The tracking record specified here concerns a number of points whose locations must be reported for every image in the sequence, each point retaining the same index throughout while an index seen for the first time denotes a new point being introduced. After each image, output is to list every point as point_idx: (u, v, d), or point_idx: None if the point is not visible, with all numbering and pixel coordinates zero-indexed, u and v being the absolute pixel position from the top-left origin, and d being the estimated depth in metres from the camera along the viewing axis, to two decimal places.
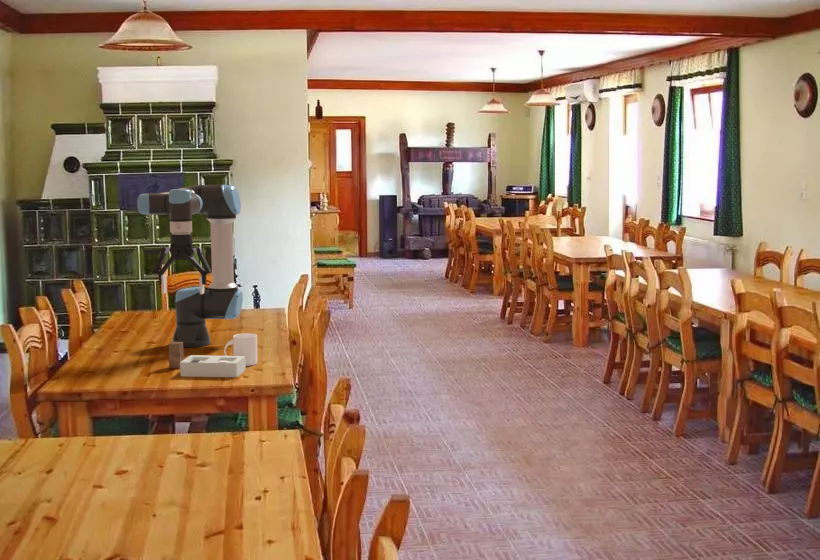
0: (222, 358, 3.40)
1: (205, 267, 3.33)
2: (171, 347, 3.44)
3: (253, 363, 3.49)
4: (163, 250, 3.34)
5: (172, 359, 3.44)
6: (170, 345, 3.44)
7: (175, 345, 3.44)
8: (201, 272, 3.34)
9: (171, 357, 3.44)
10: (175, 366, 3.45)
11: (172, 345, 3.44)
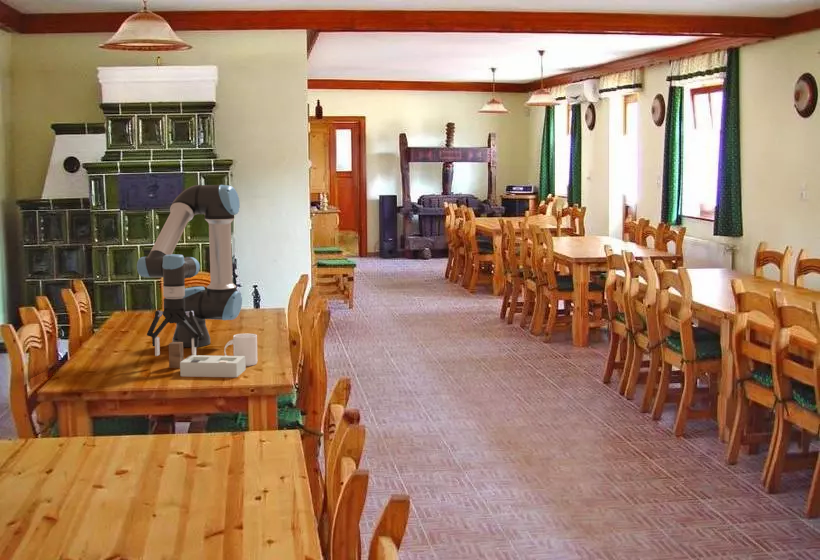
0: (222, 358, 3.40)
1: (197, 330, 3.43)
2: (171, 347, 3.44)
3: (253, 363, 3.49)
4: (156, 314, 3.43)
5: (172, 359, 3.44)
6: (170, 345, 3.44)
7: (175, 345, 3.44)
8: (193, 335, 3.43)
9: (171, 357, 3.44)
10: (175, 366, 3.45)
11: (172, 345, 3.44)
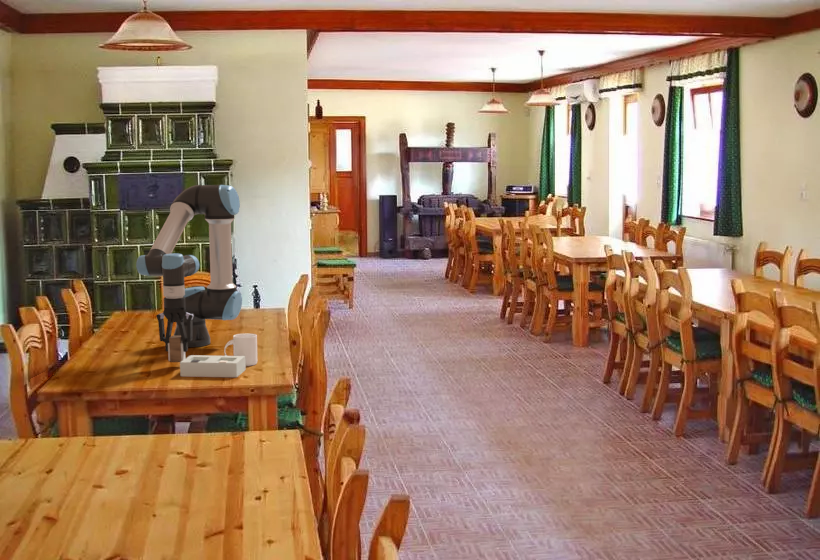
0: (222, 358, 3.40)
1: (188, 335, 3.44)
2: (172, 341, 3.44)
3: (253, 363, 3.49)
4: (158, 317, 3.44)
5: (172, 353, 3.45)
6: (170, 339, 3.44)
7: (175, 339, 3.44)
8: (183, 339, 3.44)
9: (172, 350, 3.45)
10: (176, 360, 3.45)
11: (172, 339, 3.44)
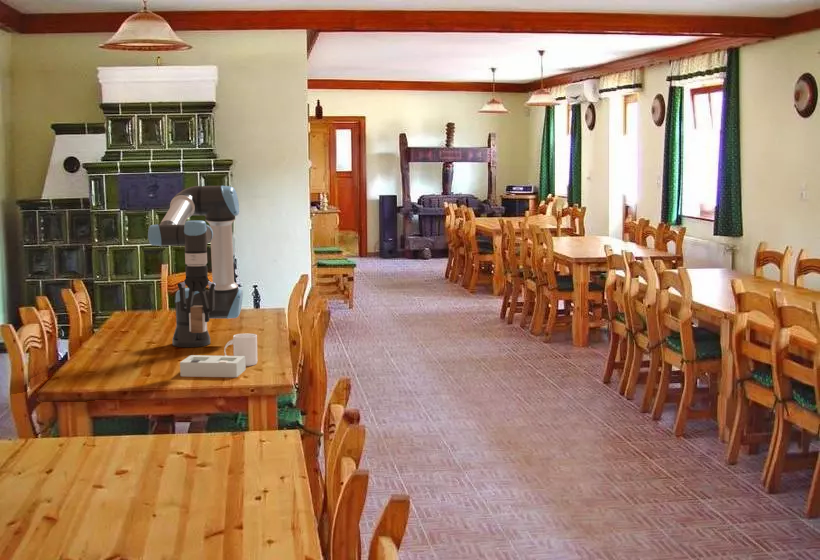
0: (222, 358, 3.40)
1: (210, 304, 3.33)
2: (193, 310, 3.33)
3: (253, 363, 3.49)
4: (179, 286, 3.33)
5: (193, 323, 3.34)
6: (192, 308, 3.33)
7: (197, 308, 3.33)
8: (205, 309, 3.33)
9: (193, 320, 3.34)
10: (197, 330, 3.34)
11: (194, 308, 3.33)
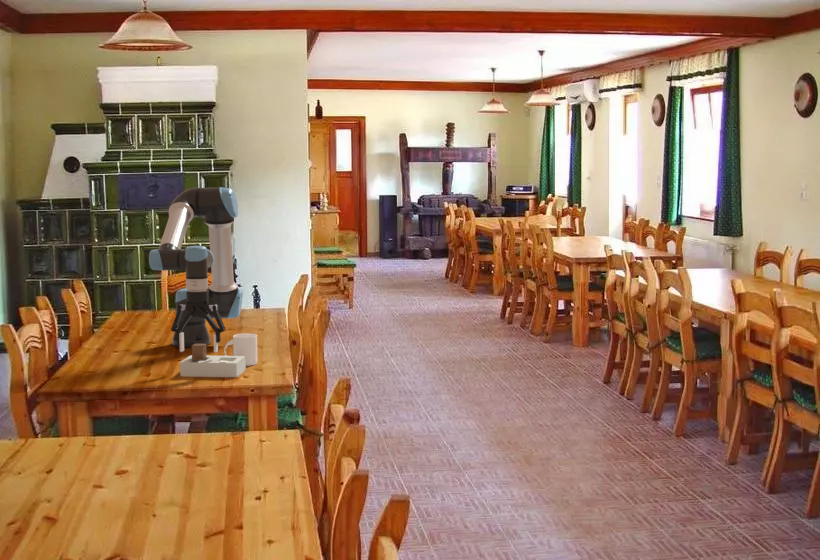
0: (222, 358, 3.40)
1: (219, 325, 3.34)
2: (194, 349, 3.35)
3: (253, 363, 3.49)
4: (179, 308, 3.34)
5: None
6: (193, 347, 3.35)
7: (198, 347, 3.35)
8: (215, 330, 3.34)
9: (194, 359, 3.35)
10: None
11: (195, 347, 3.35)
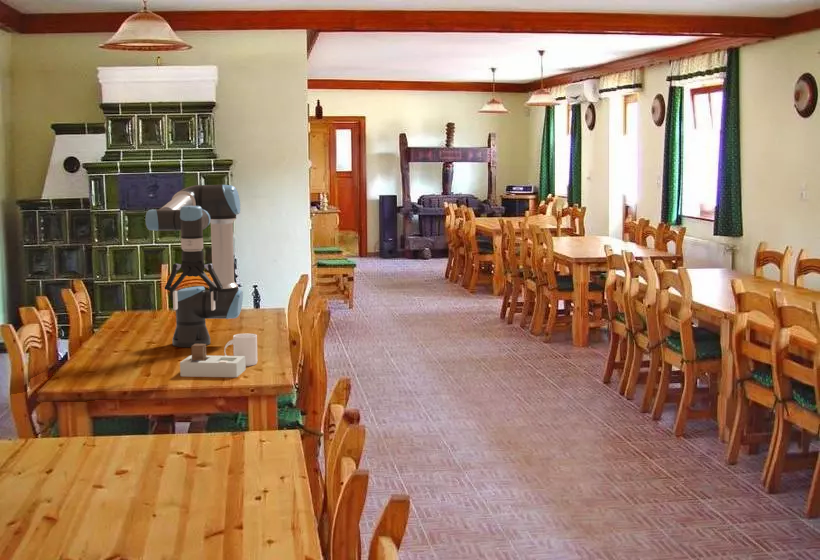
0: (222, 358, 3.40)
1: (216, 283, 3.35)
2: (194, 349, 3.35)
3: (253, 363, 3.49)
4: (174, 267, 3.35)
5: None
6: (193, 347, 3.35)
7: (198, 347, 3.35)
8: (212, 288, 3.35)
9: (194, 359, 3.35)
10: None
11: (195, 347, 3.35)
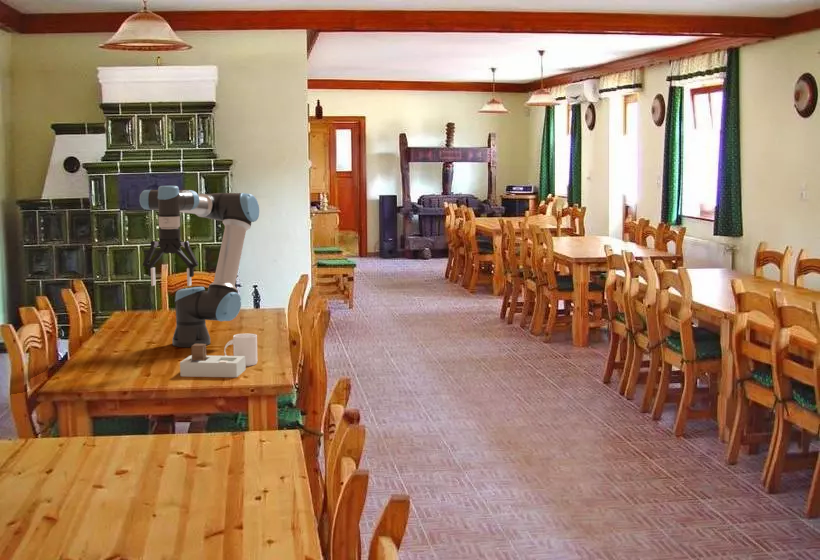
0: (222, 358, 3.40)
1: (192, 260, 3.49)
2: (194, 349, 3.35)
3: (253, 363, 3.49)
4: (152, 244, 3.50)
5: None
6: (193, 347, 3.35)
7: (198, 347, 3.35)
8: (188, 265, 3.49)
9: (194, 359, 3.35)
10: None
11: (195, 347, 3.35)
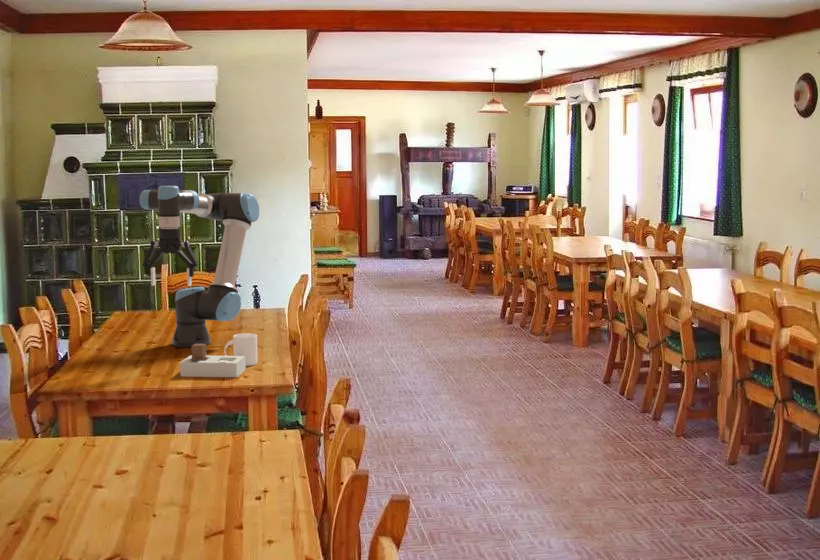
0: (222, 358, 3.40)
1: (192, 260, 3.49)
2: (194, 349, 3.35)
3: (253, 363, 3.49)
4: (152, 244, 3.50)
5: None
6: (193, 347, 3.35)
7: (198, 347, 3.35)
8: (188, 265, 3.49)
9: (194, 359, 3.35)
10: None
11: (195, 347, 3.35)
